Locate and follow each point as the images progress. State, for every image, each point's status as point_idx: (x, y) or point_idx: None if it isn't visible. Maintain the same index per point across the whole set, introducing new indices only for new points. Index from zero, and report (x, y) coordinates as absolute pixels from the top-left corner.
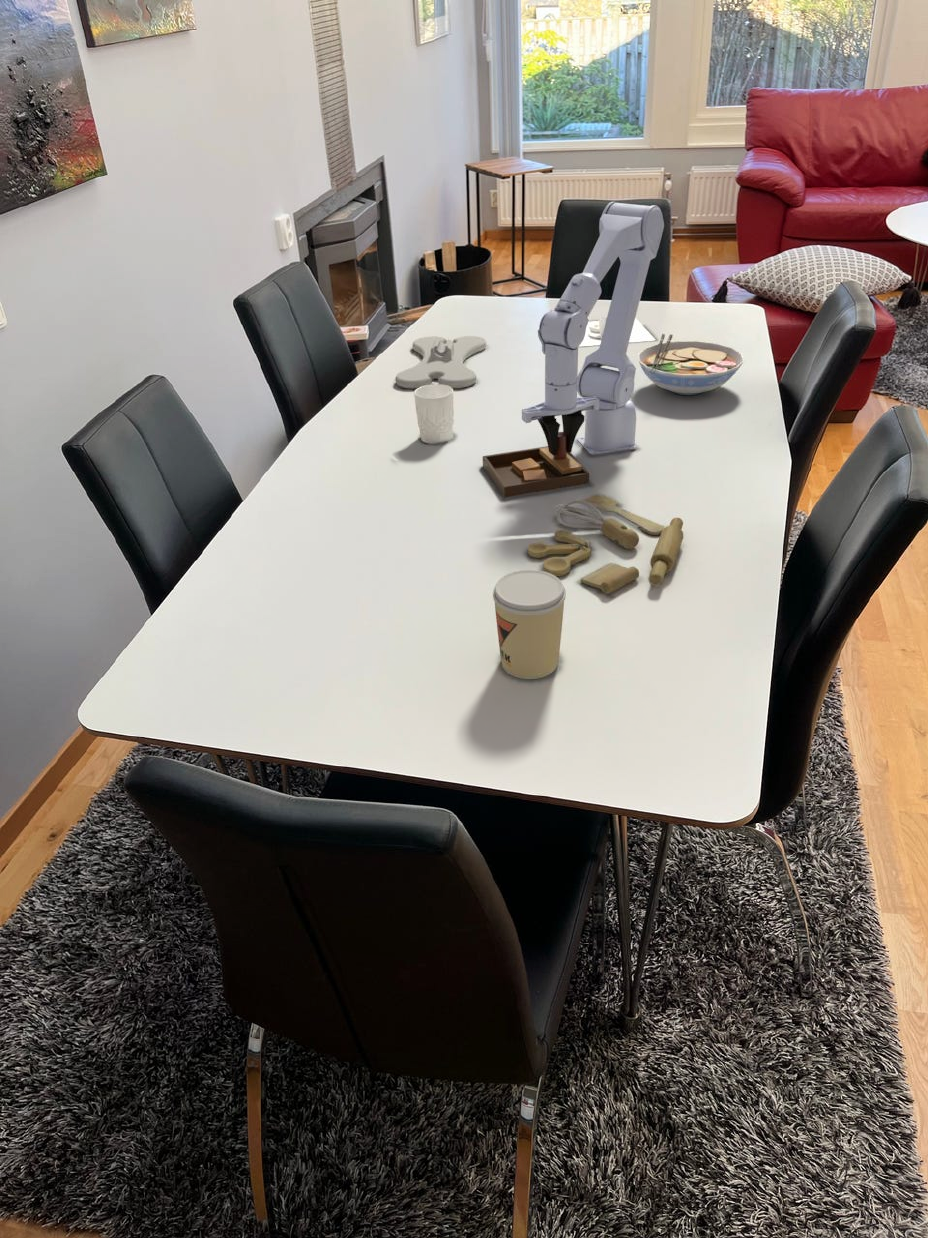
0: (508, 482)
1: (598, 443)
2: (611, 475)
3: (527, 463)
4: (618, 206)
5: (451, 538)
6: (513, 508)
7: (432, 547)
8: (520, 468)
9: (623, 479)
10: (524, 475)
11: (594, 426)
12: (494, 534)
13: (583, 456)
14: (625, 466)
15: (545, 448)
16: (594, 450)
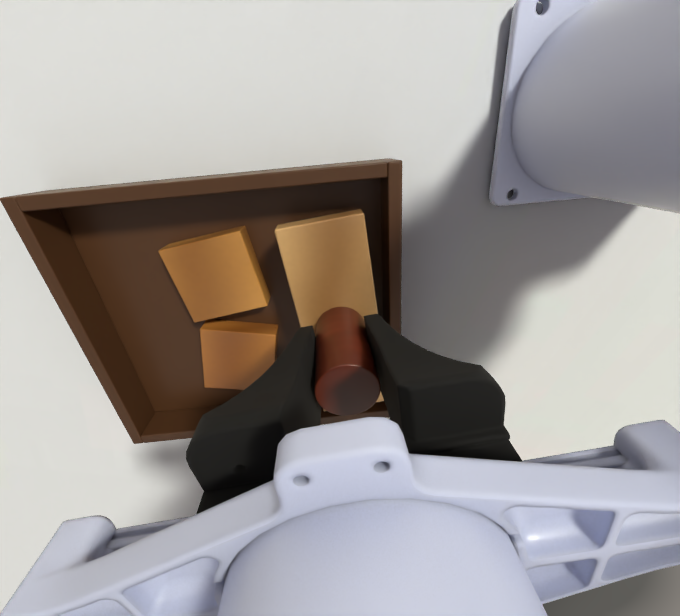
0: (158, 345)
1: (552, 182)
2: (475, 347)
3: (221, 278)
4: None
5: (45, 522)
6: (178, 449)
7: (12, 539)
8: (192, 312)
9: (491, 374)
10: (204, 361)
11: (601, 174)
12: (138, 520)
13: (462, 190)
14: (544, 304)
15: (301, 236)
16: (519, 174)
